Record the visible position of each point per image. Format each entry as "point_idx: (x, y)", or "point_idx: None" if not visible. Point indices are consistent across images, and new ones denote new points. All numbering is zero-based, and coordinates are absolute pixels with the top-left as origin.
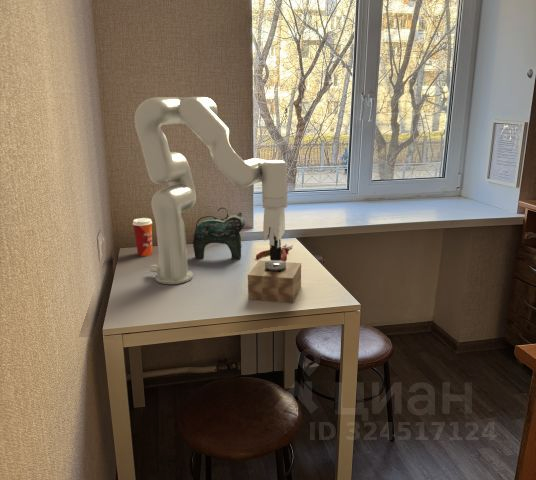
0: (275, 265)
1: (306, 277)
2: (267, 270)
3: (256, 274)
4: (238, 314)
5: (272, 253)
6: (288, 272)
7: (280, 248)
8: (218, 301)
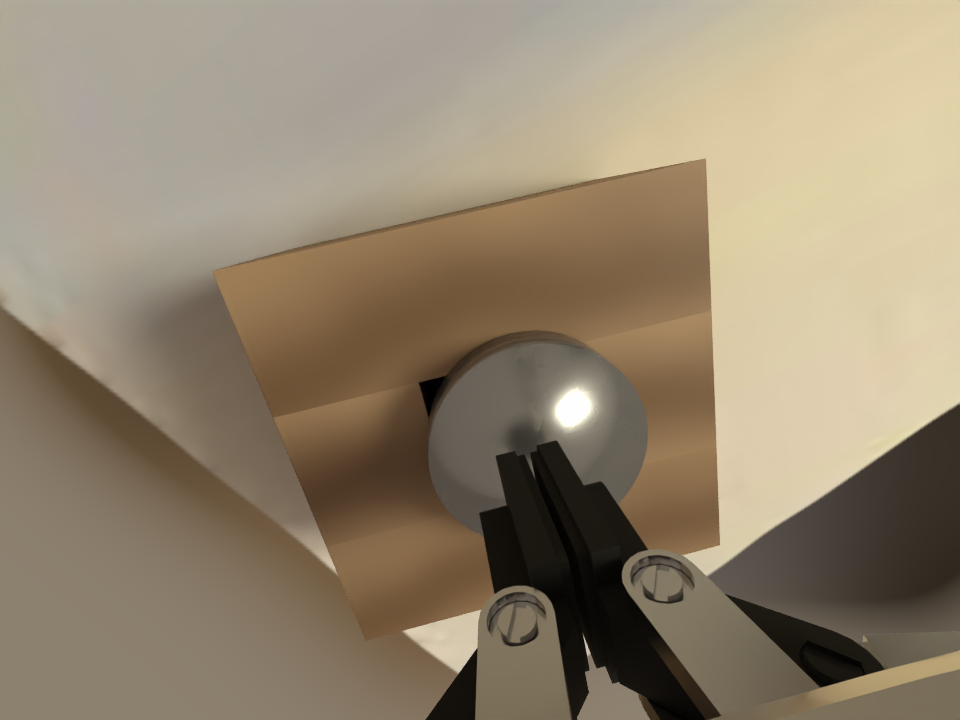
0: (482, 480)
1: (769, 413)
2: (436, 393)
3: (278, 351)
4: (42, 312)
5: (487, 556)
6: (471, 562)
7: (604, 661)
8: (122, 41)
